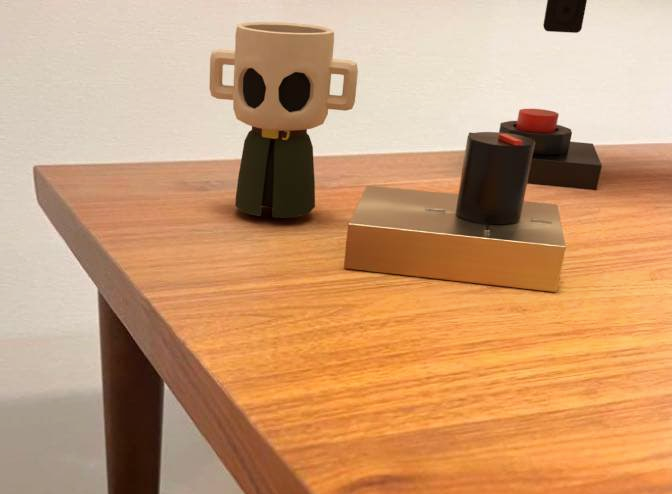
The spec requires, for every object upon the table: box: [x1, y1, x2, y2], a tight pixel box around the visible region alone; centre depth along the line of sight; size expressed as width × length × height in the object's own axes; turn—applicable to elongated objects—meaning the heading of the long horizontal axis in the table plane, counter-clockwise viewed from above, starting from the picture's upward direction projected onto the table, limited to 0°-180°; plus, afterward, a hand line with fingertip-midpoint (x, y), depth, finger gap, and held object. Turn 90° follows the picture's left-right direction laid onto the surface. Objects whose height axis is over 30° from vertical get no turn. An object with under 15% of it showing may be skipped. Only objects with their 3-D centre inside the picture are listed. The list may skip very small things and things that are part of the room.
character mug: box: [209, 21, 359, 219], centre depth 72 cm, size 11×7×13 cm, turn 77°
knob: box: [456, 131, 535, 224], centre depth 65 cm, size 4×4×5 cm
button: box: [516, 108, 560, 132], centre depth 90 cm, size 4×4×2 cm
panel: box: [343, 185, 567, 293], centre depth 68 cm, size 14×11×3 cm
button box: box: [468, 120, 603, 191], centre depth 91 cm, size 12×10×4 cm
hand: (561, 30), depth 86 cm, fingers closed
